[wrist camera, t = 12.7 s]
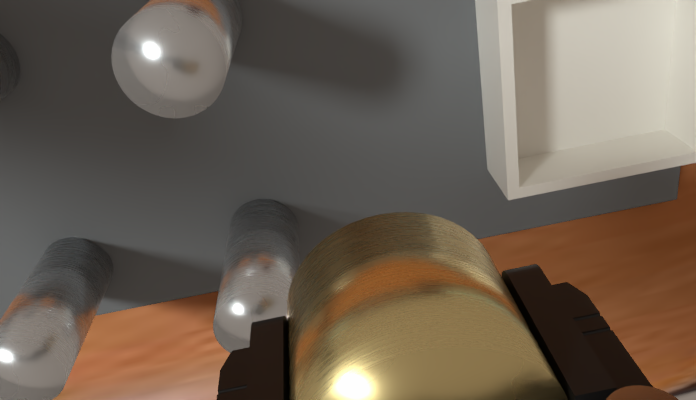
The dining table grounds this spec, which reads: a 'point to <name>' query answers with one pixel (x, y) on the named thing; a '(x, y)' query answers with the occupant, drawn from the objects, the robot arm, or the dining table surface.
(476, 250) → the nut
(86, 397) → the dining table surface
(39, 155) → the mat
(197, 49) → the spacers
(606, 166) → the white square tray
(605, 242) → the dining table surface
